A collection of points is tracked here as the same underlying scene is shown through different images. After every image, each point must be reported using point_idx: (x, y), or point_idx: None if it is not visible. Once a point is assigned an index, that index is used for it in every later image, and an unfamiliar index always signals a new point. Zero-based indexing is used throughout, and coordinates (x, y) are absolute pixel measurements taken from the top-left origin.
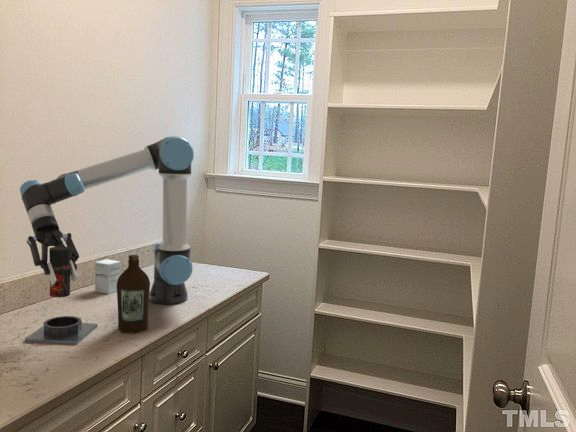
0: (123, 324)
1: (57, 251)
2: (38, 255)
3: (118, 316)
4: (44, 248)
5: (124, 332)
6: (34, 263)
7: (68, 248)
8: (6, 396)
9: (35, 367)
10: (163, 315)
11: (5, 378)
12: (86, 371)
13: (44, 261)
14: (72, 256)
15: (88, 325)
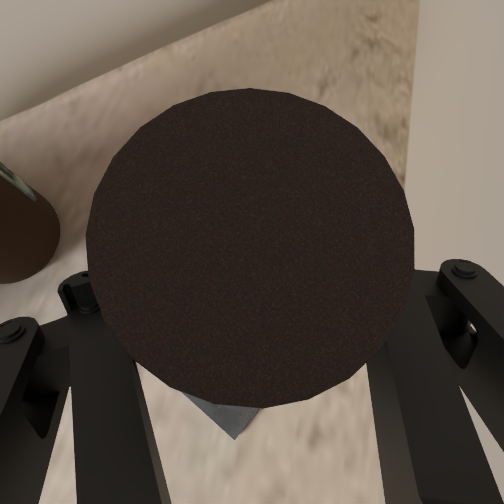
0: (43, 203)
1: (320, 116)
2: (495, 315)
3: (34, 227)
4: (461, 426)
5: (54, 210)
6: (469, 333)
7: (132, 170)
8: (415, 15)
9: (345, 111)
10: None
11: (410, 91)
12: (250, 31)
13: None
14: (79, 322)
15: None
